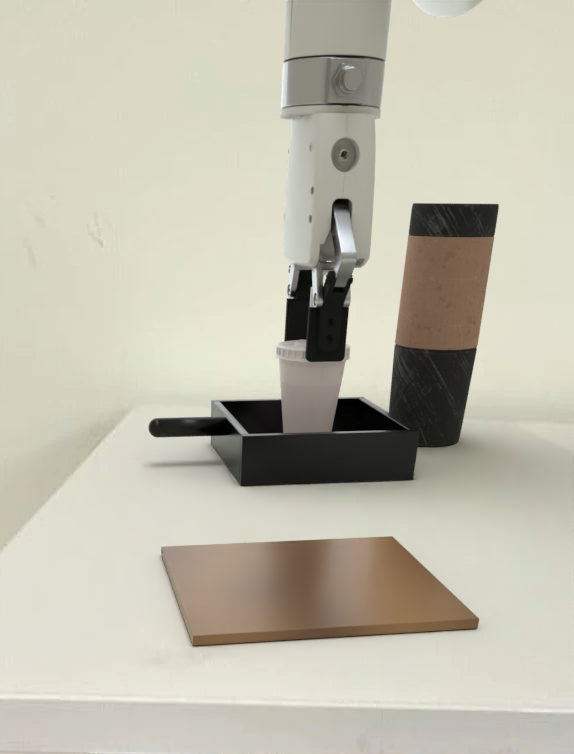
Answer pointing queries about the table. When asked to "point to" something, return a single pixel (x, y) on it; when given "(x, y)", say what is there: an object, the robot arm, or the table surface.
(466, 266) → the travel mug
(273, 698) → the table surface
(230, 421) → the pan
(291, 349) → the smoothie
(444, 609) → the brown mat
